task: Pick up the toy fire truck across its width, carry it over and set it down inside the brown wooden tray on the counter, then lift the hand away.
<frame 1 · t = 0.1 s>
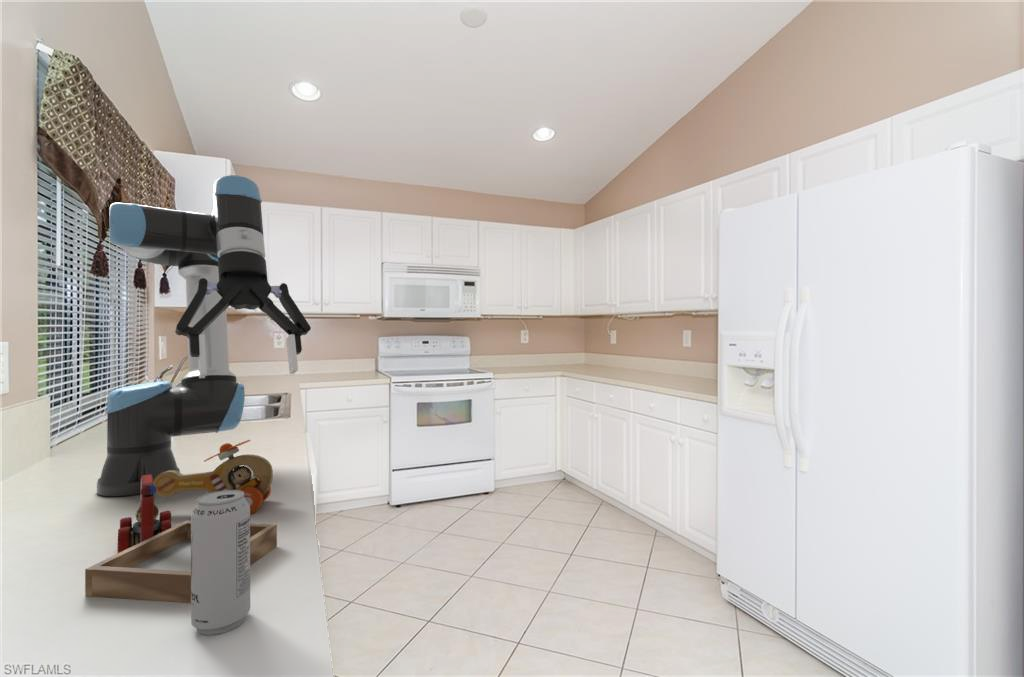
hand: (250, 374, 81), 28 cm above the countertop, tool tilted 20°, fingers open, 13 cm apart
toy fire truck: (145, 545, 80), on the countertop
toy helicopter: (220, 511, 96), on the countertop
energy drink can: (221, 624, 58), on the countertop
brown wooden tray: (191, 568, 71), on the countertop
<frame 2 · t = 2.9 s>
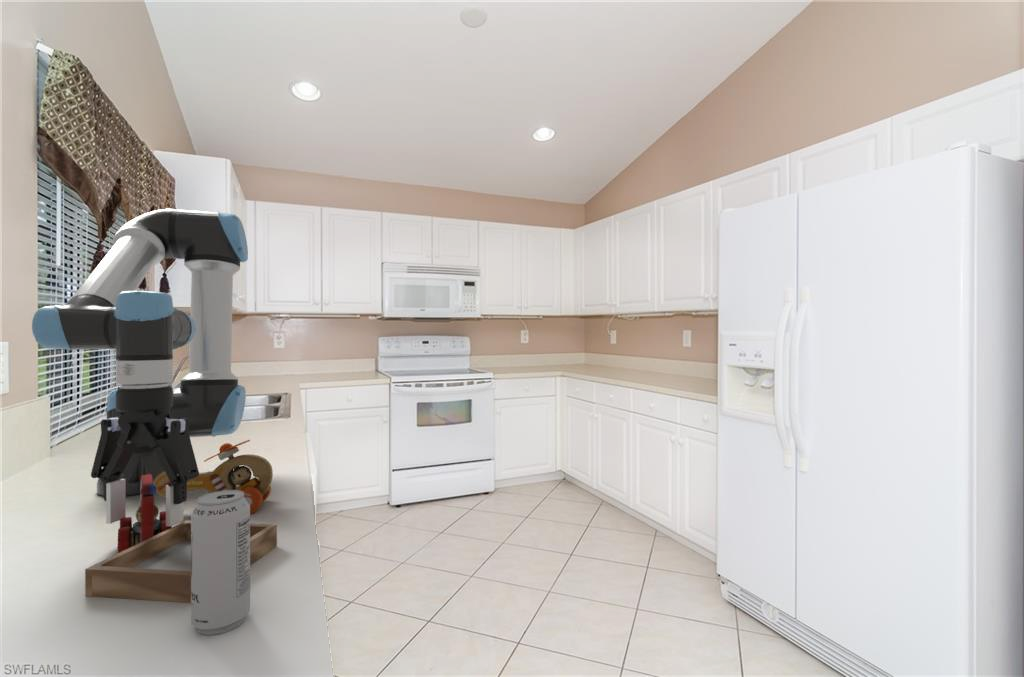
hand: (145, 521, 80), 4 cm above the countertop, tool pointing down, fingers closed on toy fire truck, 10 cm apart
toy fire truck: (145, 545, 80), on the countertop, touching gripper
everything else where it was.
when the fingers open (6 cm above the countertop, at t = 8.5 s): toy fire truck drops 1 cm, resting on brown wooden tray.
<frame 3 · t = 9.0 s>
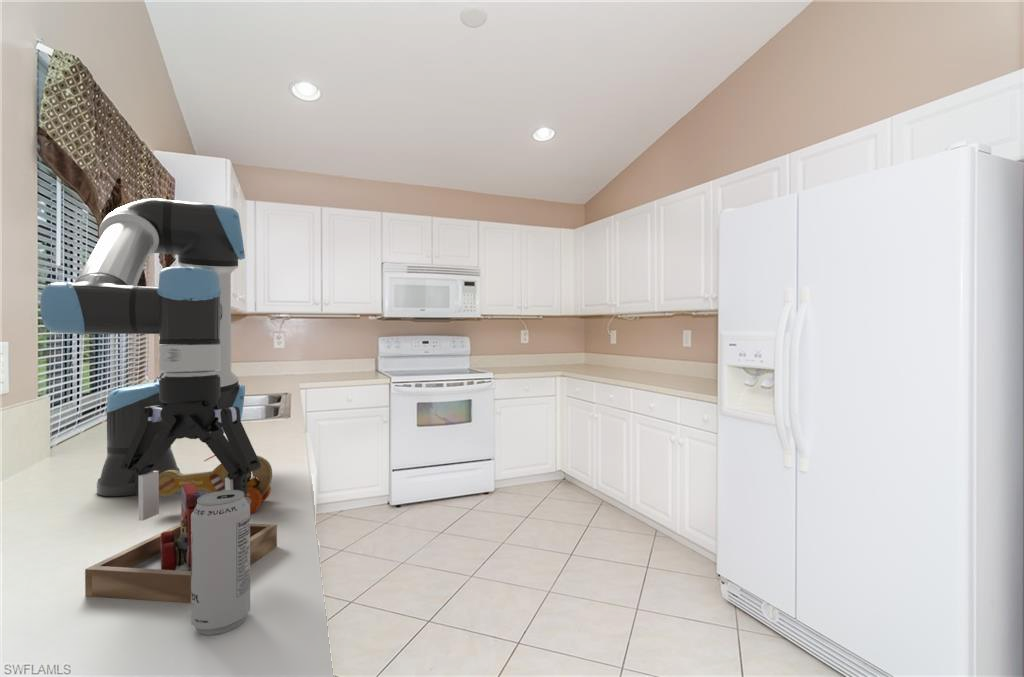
hand: (191, 519, 71), 7 cm above the countertop, tool pointing down, fingers open, 13 cm apart
toy fire truck: (190, 562, 71), point 1 cm above the countertop, touching brown wooden tray
everything else where it was.
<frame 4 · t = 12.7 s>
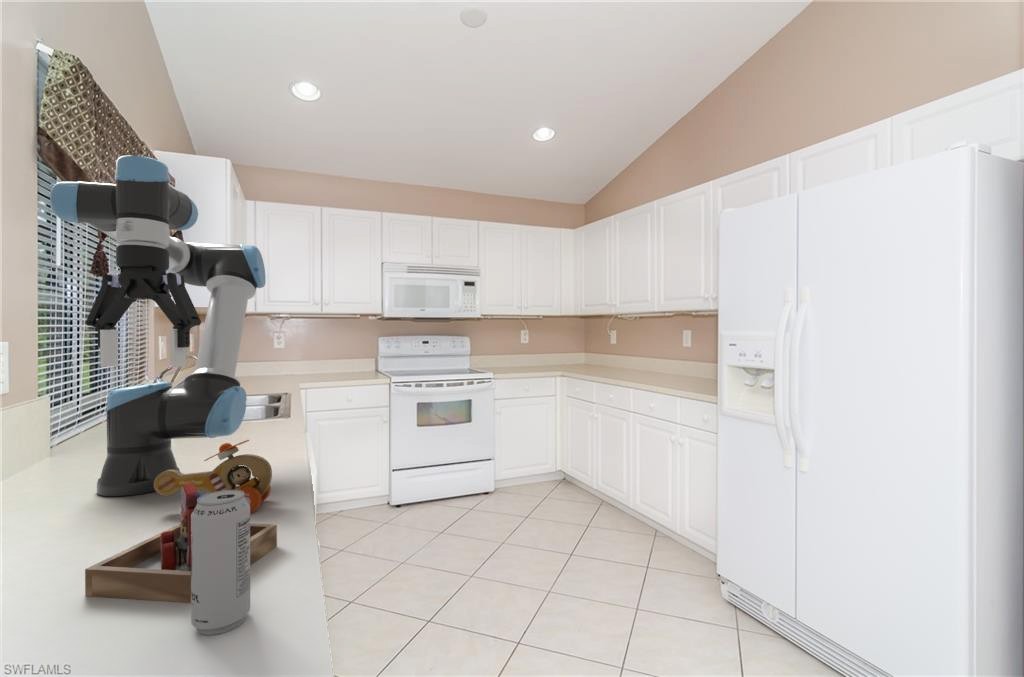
hand: (143, 366, 86), 29 cm above the countertop, tool pointing down, fingers open, 13 cm apart
nothing on the countertop moved.
at the end: toy fire truck inside the target area on the brown wooden tray (0.2 cm from its centre), point 0.8 cm above the brown wooden tray's base; toy fire truck tilted 0°; the gripper is holding nothing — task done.
